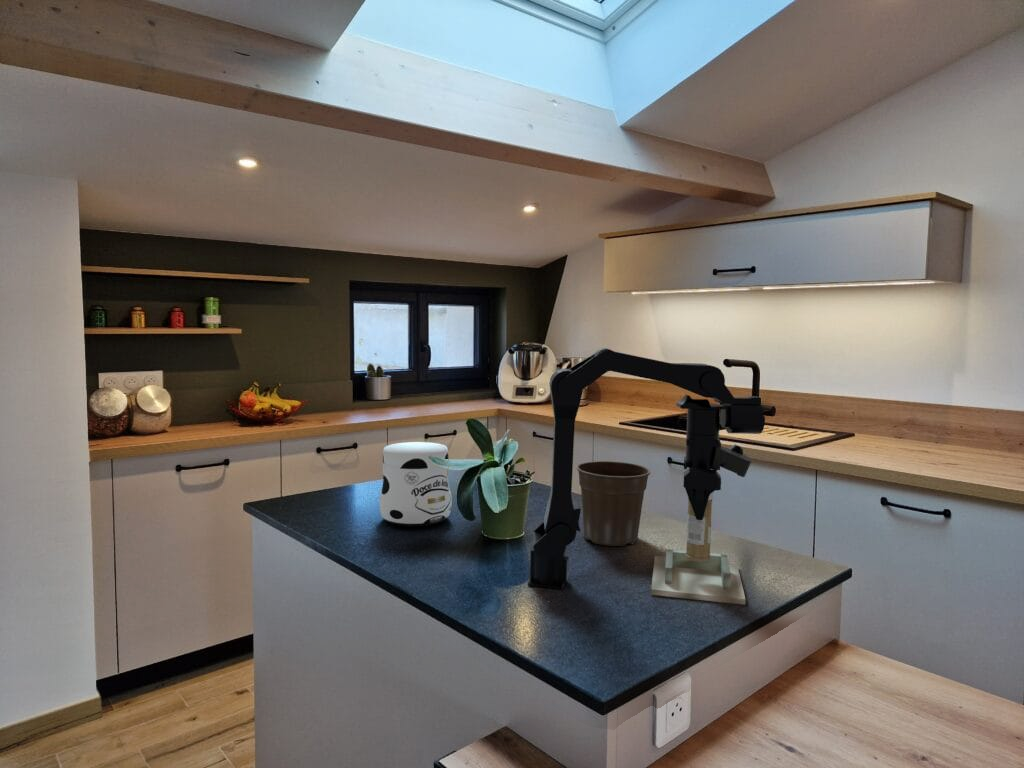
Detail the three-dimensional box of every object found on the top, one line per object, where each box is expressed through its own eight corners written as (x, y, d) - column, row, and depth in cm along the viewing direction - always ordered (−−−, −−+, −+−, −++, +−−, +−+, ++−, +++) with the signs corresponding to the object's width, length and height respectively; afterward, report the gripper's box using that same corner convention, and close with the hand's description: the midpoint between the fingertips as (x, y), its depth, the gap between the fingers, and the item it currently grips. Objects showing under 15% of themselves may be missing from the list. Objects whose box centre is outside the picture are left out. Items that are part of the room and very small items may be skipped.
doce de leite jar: (441, 534, 154) (441, 456, 152) (368, 529, 157) (368, 452, 155) (459, 513, 171) (459, 442, 169) (393, 509, 174) (393, 439, 172)
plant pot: (641, 528, 161) (644, 461, 159) (654, 551, 144) (656, 477, 143) (573, 526, 161) (574, 459, 160) (577, 549, 145) (579, 475, 143)
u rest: (651, 594, 121) (651, 573, 121) (654, 560, 139) (655, 541, 138) (745, 604, 118) (746, 582, 117) (736, 568, 135) (737, 548, 135)
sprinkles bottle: (715, 559, 126) (718, 488, 124) (698, 564, 123) (701, 491, 122) (696, 552, 129) (699, 483, 128) (679, 556, 127) (682, 486, 126)
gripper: (754, 444, 113) (749, 535, 114) (744, 427, 131) (741, 506, 132) (685, 440, 116) (681, 529, 117) (685, 424, 134) (682, 502, 135)
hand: (699, 516), depth 125 cm, fingers closed on sprinkles bottle, 4 cm apart
